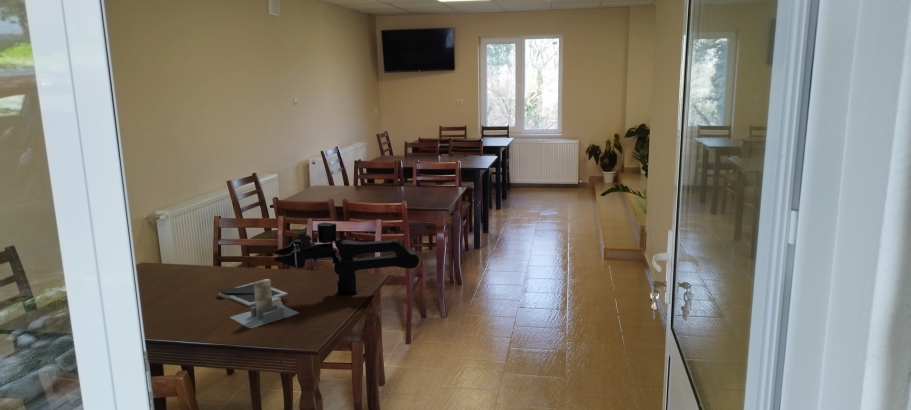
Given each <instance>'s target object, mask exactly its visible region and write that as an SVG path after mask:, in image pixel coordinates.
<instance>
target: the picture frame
mask: <svg viewBox="0 0 911 410" xmlns="http://www.w3.org/2000/svg"><path fill="white" fill-rule="evenodd" d="M271 293H272V296H276V297H280V298H281V297H284V296H285V297H286V296H288V292H285V291H282V290H280V289H278V288H275V287H272V286H271ZM218 297H221V298H223V299H230V300H232V301H234V302H236V303H239V304H242V305H244V306H246V307H248V308H249V307H250V308H251V307H254V306H256V305H255V292H254V282H251V283H247V284H244V285H240V286H236V287H234V286H233V287H232V286H230V287H226V288H222V289H218Z"/></svg>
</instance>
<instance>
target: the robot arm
mask: <svg viewBox="0 0 911 410" xmlns="http://www.w3.org/2000/svg"><path fill="white" fill-rule="evenodd" d="M316 225H317V227H316V229H317V240H318V241H320V242H321V243H316V242H315V241H314V242H312V237H311V235H310V234H308V233H307V231H306V229H302V230H300V231H297V232H296V235H297V238H298V239H294V240H292V241H291V243H289V244H288V245H287V246H285V247H282V248H278V249H276V250H274V254H275V255H278V256H275V257H274V261H275V262H278V263H281V264H284V265H288V266H291V267H293V268H296V269H297V270H298V269H304V267H305V266H306V261H313V262H318V260H327V259H331V262H332V269H333V271H334V273H335V274H337V280H336V290H337V293H338V295H339V296H346V295H356V294H358V292H357V291H358V290H357V277H356V274H357V273H356V272H358V271H362V270H372V269H374V270H375V269H380V268H381V269H382V268H383V269H384V268H391V267H392V268H393V267H396V268H401V269H409V270H410V269H415V268H417V266H419V263H420V258H419V256H418V255H417V254H416V252H415V251H414V250H411V249H407V248H406V247H405V246H404V245H402V244H401V243H400V242H399V241H398V239H395V238H392V239H386V240H385V239H384V240H375V241H358V240H357V241H356V240H350V239H341V238H340V237H339V236H337V223H334V222H333V223H332V222H318V223H317V224H316ZM334 246H335V247H334ZM337 252H338V256H337ZM385 252H387V253H388V252H394V253H395V254H392V255H390V254H389V255H380V256H370V257H359V258H356V257H357V256H359V255H364V254H373V253H376V254H377V253H385Z"/></svg>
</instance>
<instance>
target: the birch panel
mask: <svg viewBox="0 0 911 410" xmlns="http://www.w3.org/2000/svg"><path fill="white" fill-rule="evenodd" d="M271 282H272V279H269V278H265V279H261V280H256V281H254V282H253V283H254V292H255V305H254V306H256V316H257V310H260V309H263V308H267V307H270V306H272V293H271V287H272V283H271Z"/></svg>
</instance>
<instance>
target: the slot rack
mask: <svg viewBox="0 0 911 410" xmlns="http://www.w3.org/2000/svg"><path fill="white" fill-rule="evenodd" d="M298 314H299V312H298V311H297V310H295V309H292V308H290V307H287V306H285V305H283V306H282V307H278V306H277V305H274V306H270V307H267V308H263V309H260V310H257V316H256V305H253V306H250V311H247V312H242V313H239V314H235V315H233V316H229V318H230V319H232V320H233V321H236V322H237V323H239V324H241V325H242V326H244V327H246V328H248V329H254V328H256V327H259V326H263V325H266V324H268V323H269V324H270V323H272V322H275V321H279V320H281V319H286V318H288V317H292V316H295V315H298Z"/></svg>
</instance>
